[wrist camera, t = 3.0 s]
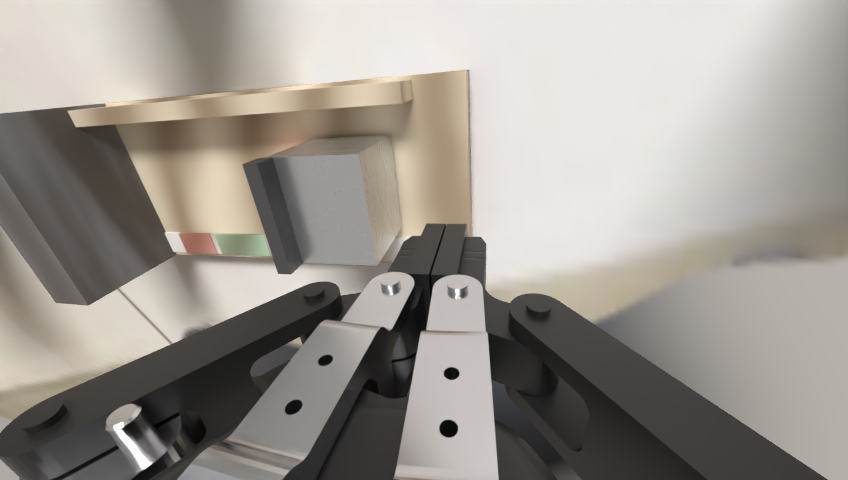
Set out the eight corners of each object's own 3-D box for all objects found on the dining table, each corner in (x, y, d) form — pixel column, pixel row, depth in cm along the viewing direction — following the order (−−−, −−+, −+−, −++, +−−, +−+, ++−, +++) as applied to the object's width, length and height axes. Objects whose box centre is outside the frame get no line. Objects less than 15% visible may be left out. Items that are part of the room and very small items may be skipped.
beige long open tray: (468, 69, 19) (446, 73, 12) (472, 254, 24) (458, 337, 17) (95, 104, 25) (-75, 120, 18) (163, 245, 31) (55, 302, 23)
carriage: (390, 134, 20) (347, 160, 14) (402, 226, 22) (369, 278, 17) (309, 138, 21) (242, 164, 16) (329, 225, 24) (278, 273, 18)
